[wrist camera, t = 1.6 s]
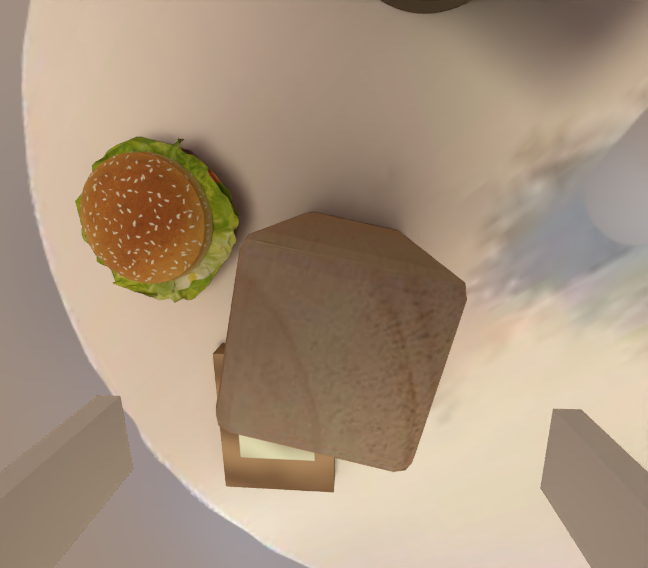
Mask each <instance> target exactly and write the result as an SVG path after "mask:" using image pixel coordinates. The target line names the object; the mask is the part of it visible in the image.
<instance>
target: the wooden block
mask: <svg viewBox="0 0 648 568" xmlns="http://www.w3.org/2000/svg"><path fill="white" fill-rule="evenodd" d="M466 301H467V297H466V286H465V282H463V281H462V280H461V279H460V278H458V277H457V276H456V275H455V274H453V273H452V272H451V271H449V270H448V269H447V268H446V267H444V266H443V265H442V264H440V263H439V262H438V261H437V260H435V259H434V258H433V257H432V256H430V255H429V254H428V253H426V252H425V251H424V250H423V249H421V248H420V247H419V246H418V245H416V244H415V243H414V242H412V241H411V240H410V239H409V238H407V237H406V236H405V235H403V234H402V233H401V232H399V231H397V230H393V229H388V228H384V227H379V226H375V225H370V224H366V223H361V222H357V221H352V220H348V219H343V218H339V217H334V216H330V215H325V214H321V213H316V212H310V213H305V214H302V215H299V216H297V217H294V218H291V219H288V220H286V221H283V222H280V223H278V224H275V225H272V226H270V227H267V228H264V229H262V230H259V231H256V232H254V233H251V234H249V235H248V236H247V238H246V240H245V241H244V243H243V244H242V246H241V248H240V251H239V257H238V264H237V271H236V277H235V284H234V291H233V297H232V304H231V311H230V317H229V324H228V331H227V337H226V344H225V351H224V357H223V364H222V371H221V377H220V384H219V391H218V397H217V404H216V416H217V421H218V425H219V426H220V427H222V428H223V429H225V430H226V431H228V432H230V433H234V434H238V435H242V436H246V437H250V438H255V439H259V440H263V441H267V442H271V443H275V444H280V445H284V446H288V447H292V448H296V449H300V450H305V451H309V452H313V453H317V454H321V455H325V456H330V457H334V458H338V459H342V460H346V461H350V462H355V463H359V464H363V465H367V466H371V467H375V468H380V469H384V470H388V471H392V472H395V471H403V470H406V469H407V468H408V467H409V466H410V464H411V463H412V461H413V459H414V456H415V453H416V450H417V447H418V444H419V441H420V438H421V435H422V432H423V429H424V426H425V423H426V420H427V417H428V414H429V411H430V408H431V405H432V402H433V399H434V397H435V394H436V391H437V388H438V385H439V382H440V379H441V376H442V373H443V370H444V367H445V364H446V361H447V358H448V355H449V352H450V349H451V346H452V343H453V340H454V337H455V334H456V331H457V328H458V325H459V322H460V319H461V316H462V313H463V310H464V307H465V304H466Z"/></svg>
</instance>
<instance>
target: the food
mask: <svg viewBox="0 0 648 568" xmlns="http://www.w3.org/2000/svg"><path fill="white" fill-rule="evenodd" d="M183 140H184V139H178V141H177V142H176V143H175V144H174V145H173V144H168V143H163V142H159V141H155V140H151V139H147V138H143V137H135V138H133V139H130V140H128V141H125V142H123V143H120V144H118V145H116V146H114V147H113V148H111V149H110V150H108V151H107V153H106V154H105V155H104V157H103V158H102V159H100V160H98V161H96V162H95V163H94V164H93V165H92V171H93V172H92V173H91V174H90V176H89V177H88V180H87V181H86V183H85V185H84V188H83V192H82V193H81V195H80V196H79V197H78V199H77V200H76V201H75V202H76V206H77V210H78V213H79V217H80V222H81V225H82V236H83V239H84V241H86V242H87V243H88V244H89V245H90V246H91V248H92V249H93V252H94V253H95V255H97V262H99V263H100V264H102V265H105V266H107V267H109V268H110V269H111V271H112V273H113V276H114V279H115V281H116V282H113V284H116V285H118V286H121V287H124V288H127V289H130V290H132V291H134V292H138V293H142V294H144V295H147V296H149V297H153V298H155V299H158V300H164V299H172V300H173V301H174V302H177V301H179V300H181V299H186V300H192V299H194V298H195V297H196V296H197V295H198V294H199V293H200V292H201V291H203V290H204V289H205V288H206V287H207V286H208V285H209V284H210V282H211V280H212V278H213V277H214V276H215V274H216V273H217V271H218V270H219V268H220V267H221V266H222V264H223V263H224V262H225V261H226V260H227V259H228V258H229V255H230V253H231V249H232V247H233V245H234V243H235V242H236V237H235V233H236V230H237V229H236V228H237V227H238V224H239V220H238V218H237V217H238V215H239V214H240V213H238V212H237V211H236V210H235V209H234V208H233V205H232V196H231V194H230V192H229V190H228V189H227V188H226V187H225V186H224V185H223V184H222V182H221V181H220V179H219V178H218V177H217V176H216V175H215V174H214V172H212V171H211V170H210V169H209V168H208V167H207V166H206V165H205V163H204V162H202V161H201V160H200V159H199V158H198V157H197V156H196V155H194V154H193V153H192V152H191V151H189V150H186V149H182V148H180V146H179V144H180V143H181V142H182V141H183Z"/></svg>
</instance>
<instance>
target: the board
mask: <svg viewBox="0 0 648 568" xmlns="http://www.w3.org/2000/svg"><path fill="white" fill-rule="evenodd" d="M224 351H225V344H221V345H220V346H219V348H218V349H217V350H216V351H215V352H214V353H213V360H214V370H215V380H216V390H217V397H218V391H219V384H220V377H221V371H222V364H223V357H224ZM220 431H221V441H222V451H223V461H224V471H225V481H226V486H230V487H248V488H266V489H284V490H302V491H320V492H334V481H335V458H334V457H330V456H325V455H321V454H317V453H313V452H309V451H305V450H300V449H296V448H292V447H288V446H284V445H280V444H275V443H271V442H267V441H263V440H259V439H255V438H250V437H246V436H242V435H238V434H234V433H230V432H228V431H226V430H225V429H223V428H222V427H220Z"/></svg>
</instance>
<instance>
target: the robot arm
mask: <svg viewBox="0 0 648 568" xmlns="http://www.w3.org/2000/svg"><path fill="white" fill-rule="evenodd" d="M382 1H384V2H386V3H387V4H389V5H391V6H394V7H396V8H399V9H402V10H405V11H409V12H416V13H435V12H441V11H446V10H450V9H453V8H456V7H459V6H461V5H463V4H465V3H467V2H469V1H471V0H382ZM132 470H133V463H132V457H131V452H130V447H129V441H128V435H127V430H126V425H125V419H124V414H123V408H122V402H121V397H120V396H101V395H98V396H96V397H95V398H94V399H92V400H91V401H90V402H89V403H87V404H86V405H85V406H84V407H82V408H81V409H80V410H78V411H77V412H76V413H75V414H73V415H72V416H71V417H70V418H69V419H67V420H66V421H64V422H63V423H62V424H61V425H59V426H58V427H57V428H56V429H54V430H53V431H52V432H50V433H49V434H48V435H46V436H45V437H44V438H43V439H41V440H40V441H39V442H38V443H37V444H35V445H34V446H32V447H31V448H30V449H29V450H27V451H26V452H25V453H23V455H21V456H20V457H19V458H17V459H16V460H15V461H13V462H12V463H11V464H10V465H8V466H7V467H6V468H4V469H3V470H2V471H1V472H0V568H54V567H55V566H56V565H57V563H58V562H59V561H60V559H61V558H62V557H63V555H65V553H66V552H67V551H68V550H69V548H70V547H71V546H72V544H73V543H74V542H75V541H76V540H77V538H78V537H79V536H80V534H81V533H82V532H83V531H84V530H85V528H86V527H87V526H88V525H89V523H90V522H91V521H92V520H93V519H94V517H95V516H96V515H97V513H98V512H99V511H100V510H101V509H102V507H103V506H104V505H105V504H106V502H107V501H108V500H109V499H110V497H111V496H112V495H113V494H114V492H115V491H116V490H117V489H118V487H119V486H120V485H121V484H122V482H123V481H124V480H125V479H126V477H127V476H128V475H129V474H130V472H131V471H132ZM541 490H542V491H543V493H544V494H545V496H546V497H547V499H548V501H549V502H550V504H551V505H552V507H553V508H554V510H555V512H556V513H557V515H558V516H559V518H560V519H561V521H562V523H563V524H564V526H565V527H566V529H567V530H568V532H569V534H570V535H571V537H572V538H573V540H574V541H575V543H576V545H577V546H578V548H579V549H580V551H581V552H582V554H583V556H584V557H585V559H586V560H587V562H588V563H589V565H590V566H591V568H648V472H647V471H646V470H645V469H644V468H643V467H642V466H641V465H640V464H639V463H638V462H636V461H635V460H634V459H633V458H632V457H631V456H630V455H629V454H628V453H627V452H626V451H625V450H624V449H623V448H622V447H621V446H619V445H618V444H617V443H616V442H615V441H614V440H613V439H612V438H611V437H610V436H609V435H608V434H607V433H606V432H605V431H604V430H602V429H601V428H600V427H599V426H598V425H597V424H596V423H595V422H594V421H593V420H592V419H591V418H590V417H589V416H588V415H587V414H585V413H584V412H583V411H582V410H579V409H553V412H552V419H551V425H550V431H549V438H548V444H547V450H546V457H545V463H544V469H543V475H542V482H541Z"/></svg>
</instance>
